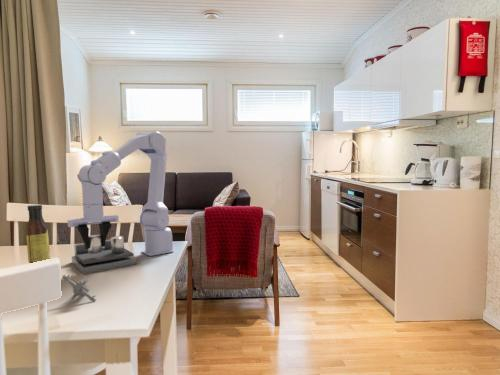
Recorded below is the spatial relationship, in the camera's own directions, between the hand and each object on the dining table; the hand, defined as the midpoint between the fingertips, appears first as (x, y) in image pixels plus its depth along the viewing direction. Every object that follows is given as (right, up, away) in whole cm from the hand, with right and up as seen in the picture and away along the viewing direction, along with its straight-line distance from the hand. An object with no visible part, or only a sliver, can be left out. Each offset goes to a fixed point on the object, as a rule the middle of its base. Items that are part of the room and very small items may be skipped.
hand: (95, 247), depth 112 cm
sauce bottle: (-21, -7, +6) cm, 23 cm away
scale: (0, -7, +7) cm, 10 cm away
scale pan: (+1, -4, +5) cm, 6 cm away
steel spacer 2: (+5, -3, +7) cm, 9 cm away
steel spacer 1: (0, -2, 0) cm, 2 cm away
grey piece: (+6, -9, -23) cm, 26 cm away
